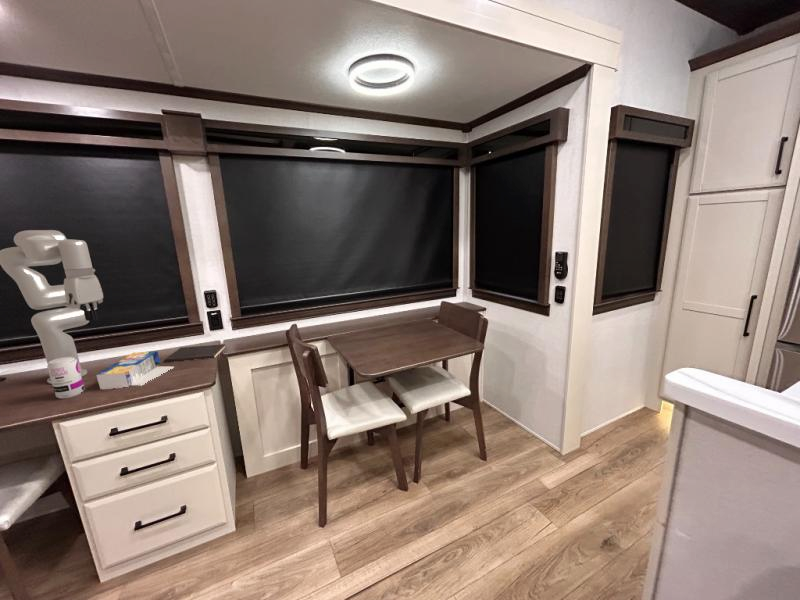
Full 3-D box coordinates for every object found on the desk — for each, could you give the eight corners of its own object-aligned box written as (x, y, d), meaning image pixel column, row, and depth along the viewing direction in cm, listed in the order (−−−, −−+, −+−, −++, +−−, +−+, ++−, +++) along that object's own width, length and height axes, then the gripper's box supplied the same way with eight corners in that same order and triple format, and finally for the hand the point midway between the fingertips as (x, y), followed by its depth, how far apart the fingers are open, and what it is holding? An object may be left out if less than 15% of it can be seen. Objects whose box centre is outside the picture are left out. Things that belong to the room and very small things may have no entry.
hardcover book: (181, 351, 171) (180, 347, 171) (226, 347, 175) (225, 344, 175) (165, 363, 156) (164, 359, 156) (214, 359, 160) (214, 355, 159)
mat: (101, 385, 133) (101, 384, 133) (138, 367, 151) (138, 366, 151) (141, 386, 132) (140, 384, 132) (173, 367, 150) (173, 366, 150)
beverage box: (124, 372, 130) (157, 351, 151) (95, 374, 129) (133, 352, 150) (128, 387, 132) (160, 364, 153) (100, 389, 130) (136, 365, 151)
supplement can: (83, 387, 133) (74, 354, 129) (86, 393, 128) (77, 359, 124) (55, 395, 127) (45, 360, 123) (57, 401, 121) (46, 366, 118)
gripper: (91, 270, 125) (101, 314, 129) (47, 276, 110) (61, 326, 114) (108, 270, 124) (119, 314, 128) (67, 276, 110) (80, 325, 114)
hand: (91, 319), depth 121 cm, fingers closed
